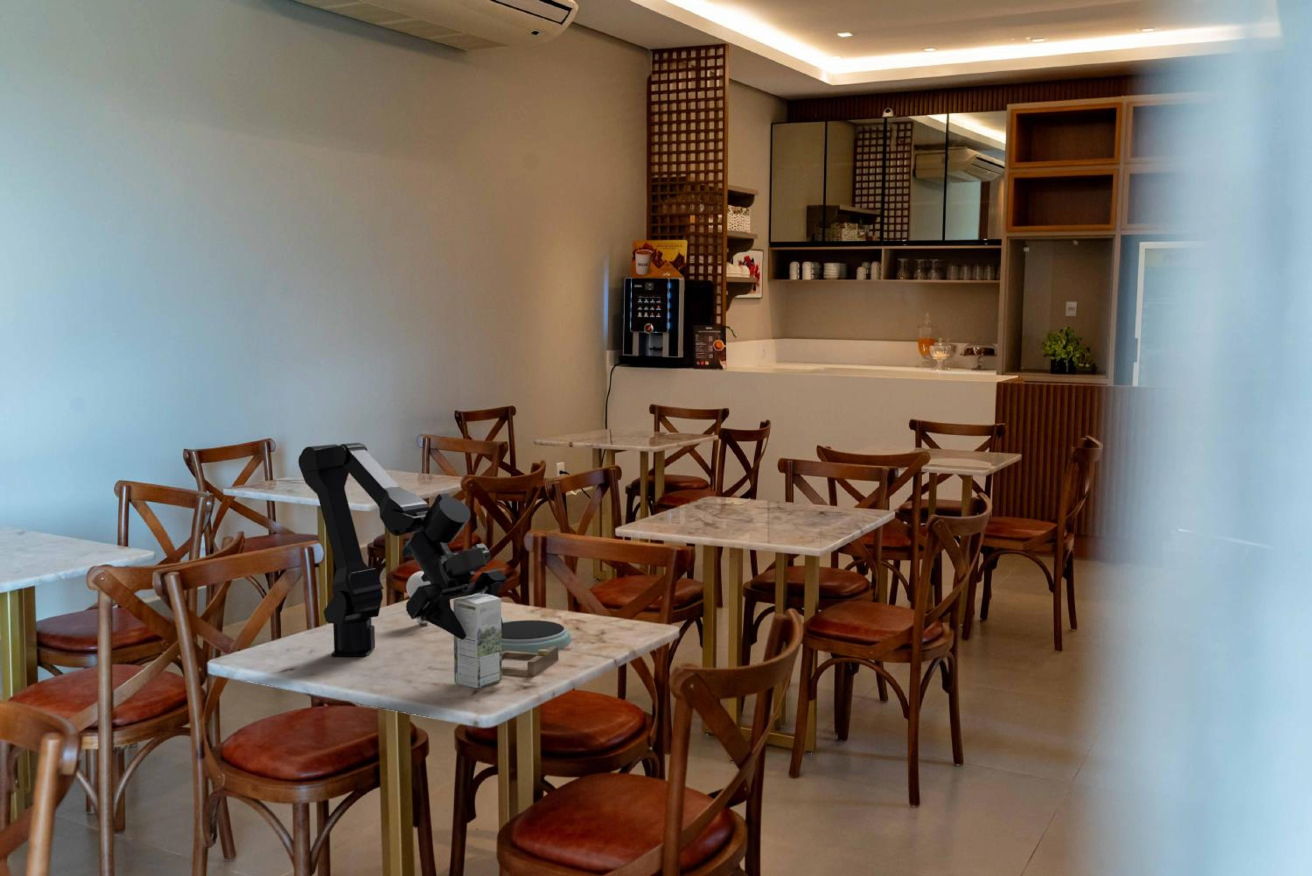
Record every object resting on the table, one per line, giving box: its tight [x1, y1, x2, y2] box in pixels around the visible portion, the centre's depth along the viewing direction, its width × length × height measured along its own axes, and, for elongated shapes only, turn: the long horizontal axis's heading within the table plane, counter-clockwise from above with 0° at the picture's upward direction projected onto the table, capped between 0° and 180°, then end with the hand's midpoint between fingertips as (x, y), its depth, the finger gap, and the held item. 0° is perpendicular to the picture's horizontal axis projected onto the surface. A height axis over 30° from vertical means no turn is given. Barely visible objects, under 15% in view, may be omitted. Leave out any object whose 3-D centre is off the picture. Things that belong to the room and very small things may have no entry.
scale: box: [501, 619, 572, 653], centre depth 217 cm, size 18×4×25 cm
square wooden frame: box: [501, 646, 559, 677], centre depth 199 cm, size 11×11×3 cm
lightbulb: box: [406, 570, 431, 626], centre depth 230 cm, size 6×6×11 cm
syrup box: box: [452, 594, 503, 689], centre depth 189 cm, size 6×6×14 cm
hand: (483, 632), depth 188 cm, fingers open, 8 cm apart
